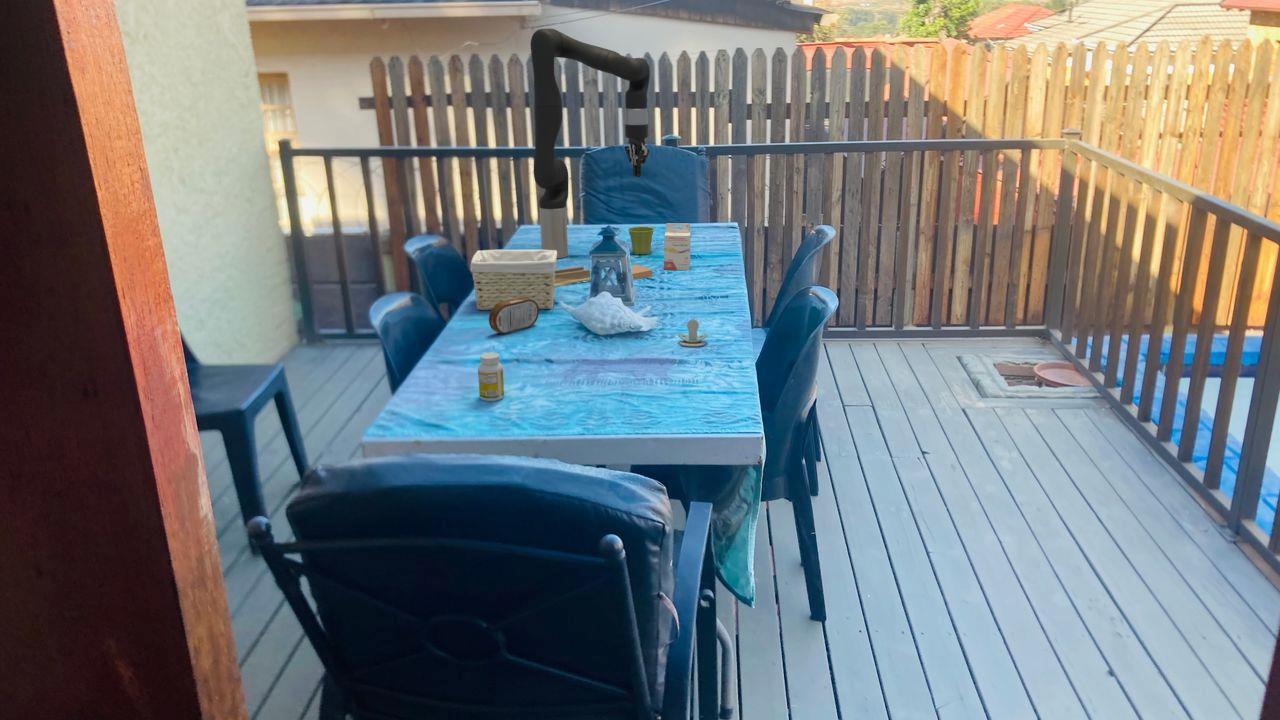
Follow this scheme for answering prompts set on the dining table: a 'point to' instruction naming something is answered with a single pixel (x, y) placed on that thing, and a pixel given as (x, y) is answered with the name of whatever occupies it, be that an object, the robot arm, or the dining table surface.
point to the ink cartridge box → (677, 247)
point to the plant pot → (641, 239)
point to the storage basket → (514, 276)
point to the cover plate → (640, 272)
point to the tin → (513, 315)
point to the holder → (571, 276)
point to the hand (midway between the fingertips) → (637, 176)
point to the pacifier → (692, 335)
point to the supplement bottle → (490, 377)
